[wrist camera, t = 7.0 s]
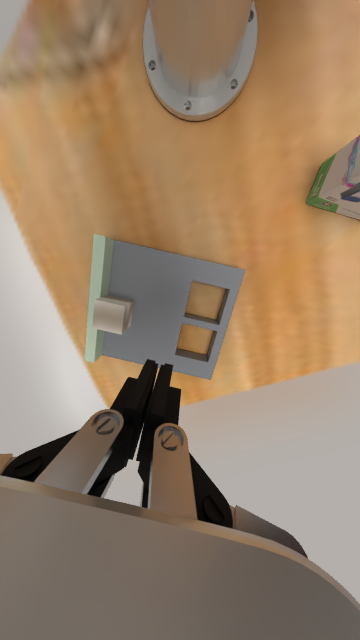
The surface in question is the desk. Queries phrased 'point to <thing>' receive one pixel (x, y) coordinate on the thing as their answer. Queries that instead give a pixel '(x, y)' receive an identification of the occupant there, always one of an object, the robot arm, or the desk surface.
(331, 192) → the ink box
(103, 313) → the cream block
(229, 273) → the trap deck
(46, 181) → the desk surface
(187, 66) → the robot arm
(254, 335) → the desk surface
